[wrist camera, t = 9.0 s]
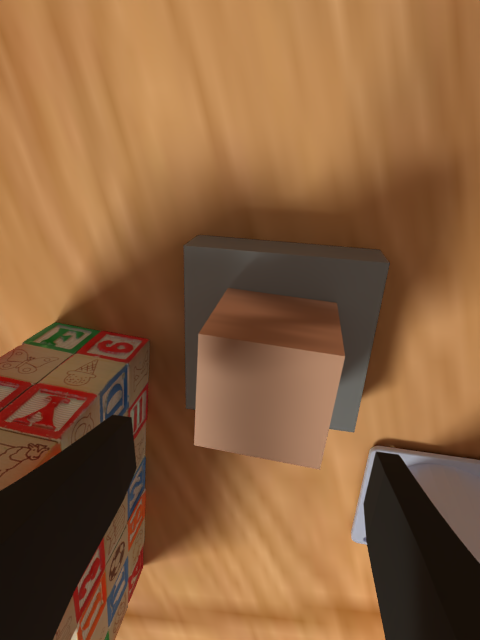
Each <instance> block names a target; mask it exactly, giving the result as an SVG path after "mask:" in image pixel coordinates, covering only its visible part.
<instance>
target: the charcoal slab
mask: <svg viewBox="0 0 480 640" xmlns="http://www.w3.org/2000/svg"><path fill="white" fill-rule="evenodd" d="M389 264H390V263H389V261H388V260H387V259H386V257H385V256H384V255H383V253H382V252H381V251H380V250H377V249H365V248H352V247H340V246H328V245H316V244H304V243H291V242H279V241H267V240H255V239H243V238H230V237H218V236H206V235H197V236H196V237H195V238H193V239H192V240H191V241H189V242H188V243H186V244H185V245H184V303H185V378H186V408H187V409H194V410H195V408H196V383H197V358H198V334H199V332H200V331H201V329H202V327H203V326H204V324H205V323H206V321H207V320H208V318H209V317H210V315H211V313H212V312H213V310H214V309H215V307H216V306H217V304H218V303H219V301H220V299H221V298H222V296H223V295H224V293H225V292H226V290H227V289H228V288H232V289H240V290H247V291H254V292H262V293H269V294H276V295H283V296H291V297H298V298H305V299H313V300H320V301H327V302H335V303H337V306H338V313H339V319H340V326H341V332H342V339H343V346H344V352H345V359H344V364H343V368H342V373H341V377H340V382H339V386H338V391H337V395H336V400H335V404H334V409H333V413H332V418H331V422H330V427H329V429H334V430H341V431H348V432H354V431H355V426H356V421H357V416H358V412H359V407H360V402H361V397H362V393H363V388H364V383H365V378H366V374H367V369H368V364H369V359H370V355H371V350H372V345H373V340H374V336H375V331H376V326H377V321H378V317H379V312H380V307H381V302H382V298H383V293H384V288H385V283H386V279H387V274H388V269H389Z"/></svg>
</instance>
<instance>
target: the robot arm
mask: <svg viewBox="0 0 480 640" xmlns="http://www.w3.org/2000/svg"><path fill="white" fill-rule="evenodd" d="M136 468H137V466H136V456H135V446H134V436H133V426H132V417H126V416H119V415H112V416H110V417H109V418H107V419H106V420H104V421H103V422H102V423H100V424H99V425H97V426H96V427H95V428H93V429H92V430H91V431H89V432H88V433H86V434H85V435H84V436H82V437H81V438H80V439H78V440H77V441H75V442H74V443H73V444H71V445H70V446H68V447H67V448H65V449H64V450H63V451H61V452H60V453H58V454H57V455H56V456H54V457H53V458H51V459H50V460H48V461H47V462H45V463H43V464H42V465H40V466H39V467H37V468H36V469H34V470H33V471H31V472H30V473H28V474H27V475H25V476H23V477H22V478H20V479H19V480H17V481H16V482H14V483H12V484H11V485H9V486H7V487H6V488H4V489H2V490H1V491H0V640H53V639H54V636H55V634H56V632H57V629H58V627H59V625H60V623H61V620H62V618H63V616H64V614H65V611H66V609H67V607H68V605H69V602H70V600H71V598H72V596H73V593H74V591H75V589H76V587H77V585H78V583H79V581H80V579H81V577H82V575H83V574H84V572H85V570H86V568H87V566H88V565H89V563H90V561H91V559H92V557H93V555H94V554H95V552H96V550H97V548H98V546H99V545H100V543H101V541H102V539H103V537H104V536H105V534H106V532H107V530H108V528H109V527H110V525H111V523H112V521H113V519H114V517H115V516H116V514H117V512H118V510H119V508H120V506H121V504H122V502H123V501H124V498H125V496H126V494H127V491H128V489H129V486H130V484H131V481H132V479H133V476H134V474H135V471H136ZM351 537H352V540H353V541H355V542H357V543H361V544H367V547H368V552H369V557H370V562H371V568H372V573H373V578H374V583H375V588H376V593H377V598H378V603H379V608H380V613H381V618H382V623H383V628H384V633H385V639H386V640H480V460H476V459H469V458H462V457H455V456H448V455H441V454H434V453H427V452H420V451H413V450H406V449H398V448H391V447H384V446H374V447H372V448H371V449H370V451H369V455H368V460H367V464H366V468H365V473H364V477H363V482H362V486H361V491H360V495H359V499H358V504H357V508H356V513H355V517H354V522H353V526H352V530H351Z"/></svg>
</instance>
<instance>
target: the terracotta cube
mask: <svg viewBox="0 0 480 640" xmlns="http://www.w3.org/2000/svg"><path fill="white" fill-rule="evenodd" d="M344 359H345V352H344V346H343V339H342V332H341V326H340V319H339V313H338V306H337V303H335V302H327V301H320V300H313V299H305V298H298V297H291V296H283V295H276V294H269V293H262V292H254V291H247V290H240V289H232V288H228V289H227V290H226V292H225V293H224V295H223V296H222V298H221V299H220V301H219V303H218V304H217V306H216V307H215V309H214V310H213V312H212V313H211V315H210V317H209V318H208V320H207V321H206V323H205V324H204V326H203V327H202V329H201V331H200V332H199V334H198V358H197V383H196V408H195V434H194V445H195V446H201V447H206V448H211V449H216V450H221V451H226V452H232V453H237V454H242V455H247V456H252V457H257V458H263V459H268V460H273V461H278V462H283V463H288V464H294V465H299V466H304V467H309V468H314V469H319V470H320V467H321V462H322V458H323V453H324V449H325V444H326V440H327V435H328V431H329V427H330V422H331V418H332V413H333V409H334V404H335V400H336V395H337V391H338V386H339V382H340V377H341V373H342V368H343V364H344Z"/></svg>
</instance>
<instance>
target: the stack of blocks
mask: <svg viewBox="0 0 480 640" xmlns="http://www.w3.org/2000/svg"><path fill="white" fill-rule="evenodd" d="M149 354H150V341H149V339H144V338H139V337H134V336H128V335H123V334H118V333H112V332H107V331H98V330H92V329H87V328H82V327H77V326H72V325H67V324H61V323H57V322H55V323H53V324H52V325H50V326H48V327H46V328H45V329H43V330H42V331H40V332H38V333H37V334H35V335H33V336H32V337H30V338H29V339H27V340H26V341H24V342H23V343H22V345H20V346H18V347H16V348H15V349H13V350H11V351H10V352H8V353H6V354H5V355H3V356H2V357H0V491H1V490H2V489H4V488H6V487H7V486H9V485H11V484H12V483H14V482H16V481H17V480H19V479H20V478H22V477H23V476H25V475H27V474H28V473H30V472H31V471H33V470H34V469H36V468H37V467H39V466H40V465H42V464H43V463H45V462H47V461H48V460H50V459H51V458H53V457H54V456H56V455H57V454H58V453H60V452H61V451H63V450H64V449H65V448H67V447H68V446H70V445H71V444H73V443H74V442H75V441H77V440H78V439H80V438H81V437H82V436H84V435H85V434H86V433H88V432H89V431H91V430H92V429H93V428H95V427H96V426H97V425H99V424H100V423H102V422H103V421H104V420H106V419H107V418H109V417H110V416H112V415H119V416H126V417H132V426H133V436H134V446H135V456H136V466H137V468H136V471H135V474H134V476H133V479H132V481H131V484H130V486H129V489H128V491H127V494H126V496H125V498H124V501H123V502H122V504H121V506H120V508H119V510H118V512H117V514H116V516H115V517H114V519H113V521H112V523H111V525H110V527H109V528H108V530H107V532H106V534H105V536H104V537H103V539H102V541H101V543H100V545H99V546H98V548H97V550H96V552H95V554H94V555H93V557H92V559H91V561H90V563H89V565H88V566H87V568H86V570H85V572H84V574H83V575H82V577H81V579H80V581H79V583H78V585H77V587H76V589H75V591H74V593H73V596H72V598H71V600H70V602H69V605H68V607H67V609H66V611H65V614H64V616H63V618H62V620H61V623H60V625H59V627H58V629H57V632H56V634H55V636H54V639H53V640H115V638H116V635H117V633H118V630H119V628H120V625H121V623H122V620H123V618H124V615H125V613H126V610H127V608H128V603H129V601H130V598H131V596H132V594H133V591H134V589H135V587H136V584H137V582H138V579H139V576H140V574H141V571H142V569H143V544H144V540H145V503H146V488H145V463H146V457H145V450H146V420H147V412H148V379H149Z"/></svg>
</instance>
